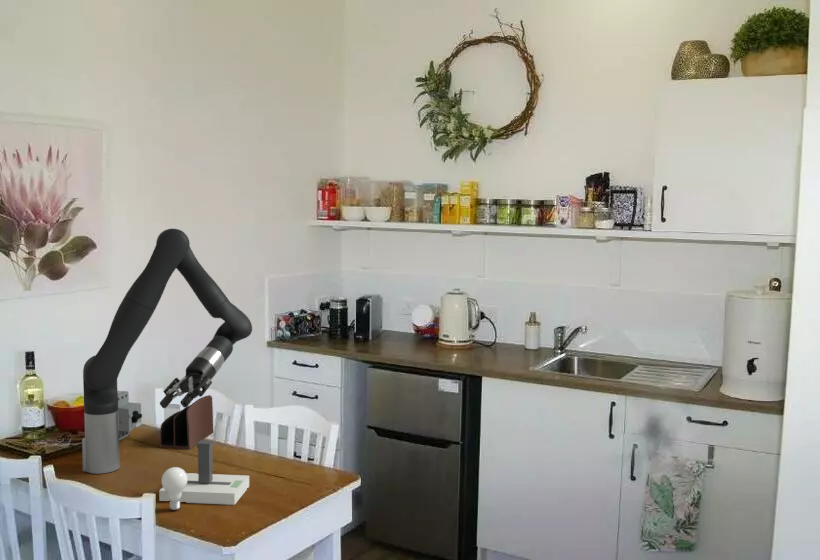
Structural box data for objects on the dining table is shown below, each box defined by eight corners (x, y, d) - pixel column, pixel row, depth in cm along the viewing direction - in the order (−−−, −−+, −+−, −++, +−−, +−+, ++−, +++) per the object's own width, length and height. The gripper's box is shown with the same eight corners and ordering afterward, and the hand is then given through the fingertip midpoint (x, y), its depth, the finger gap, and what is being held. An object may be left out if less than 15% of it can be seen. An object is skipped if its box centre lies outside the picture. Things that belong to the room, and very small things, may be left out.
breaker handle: (197, 483, 219) (197, 443, 217) (201, 479, 222) (200, 440, 220) (209, 483, 218) (209, 443, 217) (213, 479, 221) (213, 440, 220)
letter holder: (213, 433, 278) (213, 392, 276) (189, 450, 258) (189, 406, 257) (185, 431, 279) (185, 390, 278) (159, 448, 260) (158, 405, 258)
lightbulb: (164, 505, 211) (164, 463, 210) (189, 504, 212) (189, 463, 211) (159, 514, 205) (158, 472, 204) (185, 514, 206) (184, 471, 205)
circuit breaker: (134, 443, 264) (133, 397, 263) (94, 440, 267) (93, 394, 266) (146, 436, 271) (145, 392, 270) (107, 433, 274) (106, 389, 273)
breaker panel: (159, 501, 214) (159, 490, 214) (178, 483, 228) (178, 472, 228) (234, 504, 213) (234, 493, 212) (249, 486, 226) (249, 475, 226)
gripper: (181, 357, 239) (147, 396, 227) (216, 354, 231) (182, 394, 219) (195, 376, 242) (162, 416, 231) (229, 374, 234) (197, 414, 223)
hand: (172, 405), depth 225 cm, fingers open, 8 cm apart
